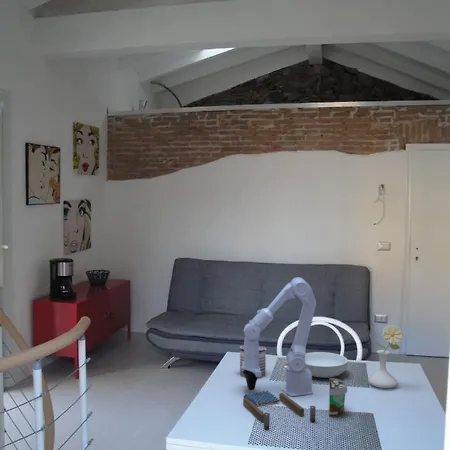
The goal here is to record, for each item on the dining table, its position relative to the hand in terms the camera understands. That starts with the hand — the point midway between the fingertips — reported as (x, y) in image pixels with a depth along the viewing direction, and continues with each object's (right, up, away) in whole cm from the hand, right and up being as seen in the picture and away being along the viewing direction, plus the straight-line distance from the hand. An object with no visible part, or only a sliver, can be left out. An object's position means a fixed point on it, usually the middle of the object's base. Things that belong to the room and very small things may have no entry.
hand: (251, 389), depth 204 cm
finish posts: (+11, -2, -30) cm, 32 cm away
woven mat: (+3, -2, -8) cm, 9 cm away
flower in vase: (+54, -1, +8) cm, 54 cm away
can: (+2, 0, +21) cm, 21 cm away
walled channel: (+7, -2, -18) cm, 19 cm away
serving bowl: (+31, 0, +21) cm, 38 cm away
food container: (+30, -2, -19) cm, 35 cm away
